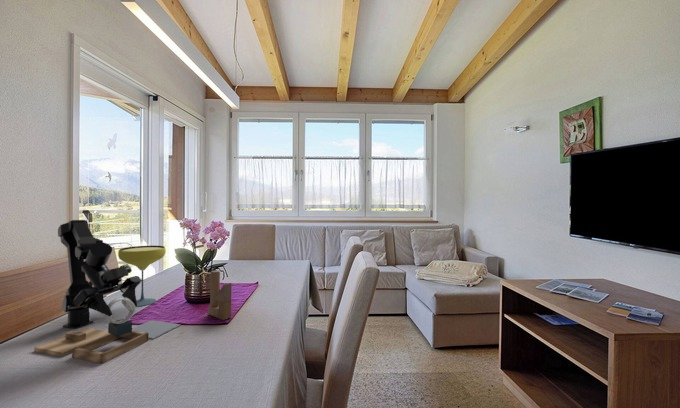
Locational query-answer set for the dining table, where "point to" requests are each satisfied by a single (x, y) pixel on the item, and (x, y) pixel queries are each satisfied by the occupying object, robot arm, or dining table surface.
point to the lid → (70, 341)
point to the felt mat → (155, 328)
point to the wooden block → (219, 297)
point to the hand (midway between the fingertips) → (123, 310)
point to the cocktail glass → (142, 263)
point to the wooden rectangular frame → (102, 357)
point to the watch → (121, 325)
